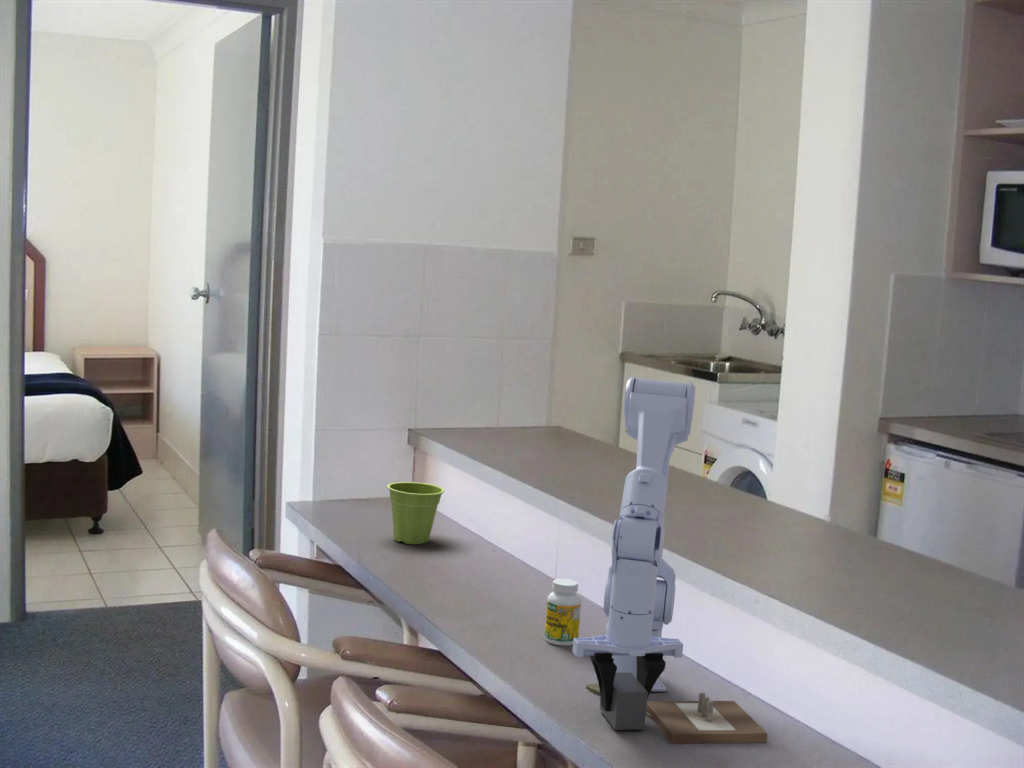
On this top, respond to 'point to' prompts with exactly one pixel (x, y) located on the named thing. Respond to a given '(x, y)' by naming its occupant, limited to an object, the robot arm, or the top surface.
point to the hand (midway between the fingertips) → (622, 708)
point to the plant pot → (413, 510)
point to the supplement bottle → (563, 613)
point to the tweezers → (596, 690)
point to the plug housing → (627, 703)
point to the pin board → (705, 721)
